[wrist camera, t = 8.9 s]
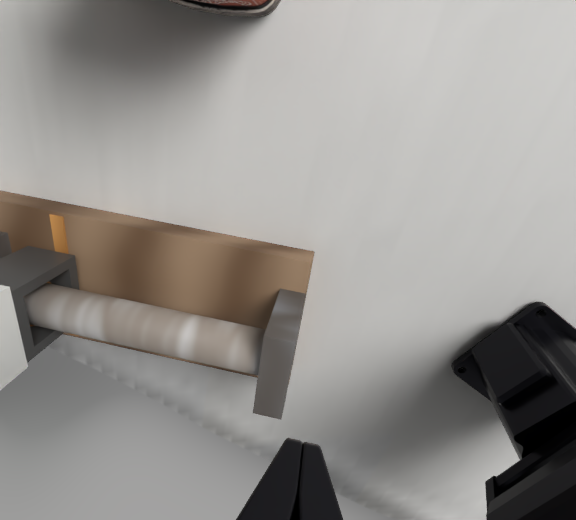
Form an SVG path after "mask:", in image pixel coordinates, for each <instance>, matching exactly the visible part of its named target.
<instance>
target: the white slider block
mask: <svg viewBox="0 0 576 520" xmlns="http://www.w3.org/2000/svg"><path fill="white" fill-rule="evenodd" d="M47 282H50V283H52V284H55V285H59V286H64V287H69V288H74V289H78V290H80V289H79V282H78V274H77V266H76V259H75V255H70V254H66V253H61V252H56V251H51V250H46V249H41V248H36V247H32V246H27V247H24V248H22V249H20V250H18V251H16V252H13V253H11V254H9V255H7V256H5V257H3V258H0V390H1V389H3V388H4V387H5V386H6V385H7V384H9V383H10V382H11V381H12V380H13V379H14V378H16V377H17V376H18V375H19V374H21V373H22V372H23V371H24V370H25V369H26V368H28V365H27V363H28V362H29V361H30V360H31V359H32V358H34V357H35V356H36V355H37V354H38V353H40V352H41V351H42V350H43V349H45V348H46V347H47V346H48V345H49V344H51V343H52V342H53V341H54V340H56V339H57V338H58V337H59V336H60V335H62V334H63V333H64V332H61V331H57V330H52V329H48V328H43V327H39V326H30V324H29V319H28V315H27V310H26V305H25V301H24V296H25V295H27V294H29V293H30V292H32V291H34V290H35V289H37V288H38V287H40V286H42V285H43V284H45V283H47Z"/></svg>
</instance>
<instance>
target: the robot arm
mask: <svg viewBox="0 0 576 520" xmlns="http://www.w3.org/2000/svg"><path fill="white" fill-rule="evenodd" d="M539 310H542V311H541V312H540V313H536V312H537V311H539ZM460 367H464V368H462V369H458V368H460ZM452 369H453V372H454V373H455V374H456V375H457V376H458V377H459V378H461V379H462V380H464V381H465V382H466V383H468V384H469V385H470V386H472V387H473V388H474V389H476V390H477V391H478V392H480V393H481V394H482V395H484V396H485V397H486V398H488V399H489V400H490V401H492V403H493V405H494V407H495V409H496V411H497V413H498V416H499V418H500V420H501V422H502V424H503V426H504V428H505V430H506V432H507V434H508V436H509V438H510V440H511V443H512V445H513V447H514V449H515V451H516V453H517V455H518V457H519V459H520V461H518V462H517V463H515V464H514V465H513V466H511V467H510V468H508V469H507V470H506V471H504V472H503V473H501V474H500V475H498V476H497V477H496V476H493V477H491V478H490V479H489V480H487V481H486V483H485V484H486V500H487V515H486V517H487V520H576V328H574V327H573V326H572V325H571V324H570V323H568V322H567V321H566V320H565V319H563V318H562V317H561V316H560V315H559V314H557V313H556V312H555V311H554V310H552V309H551V308H550V307H549V306H548V305H546V304H545V303H543V302H536V303H533V304H531V305H530V306H529V307H527V308H526V309H525V310H523V311H522V312H520V313H519V314H518V315H516V316H515V317H514V318H512V319H511V320H510V321H508V322H507V323H506V324H504V325H503V326H501V327H500V328H499V329H497V330H496V331H495V332H493V333H492V334H491V335H489V336H488V337H487V338H485V339H484V340H483V341H481V342H480V343H478V344H477V345H476V346H474V347H473V348H472V349H470V350H469V351H468V352H466V353H465V354H464V355H462V356H461V357H459V358H458V359H457V360H455V361H454V362H453V363H452ZM236 520H343V518H342V514H341V511H340V508H339V505H338V501H337V498H336V495H335V492H334V489H333V485H332V482H331V479H330V476H329V473H328V469H327V466H326V463H325V460H324V457H323V453H322V450H321V448H320V446H319V445H317V444H313V443H308V442H304V443H302V442H301V441H300V440H295V439H291V438H287V439H286V440H285V441H284V443H283V445H282V446H281V448H280V449H279V451H278V453H277V454H276V456H275V457H274V459H273V461H272V462H271V464H270V466H269V467H268V469H267V470H266V472H265V474H264V475H263V477H262V479H261V480H260V482H259V484H258V485H257V487H256V488H255V490H254V491H253V493H252V495H251V496H250V498H249V500H248V501H247V503H246V504H245V506H244V508H243V509H242V511H241V513H240V514H239V516H238V518H237V519H236Z"/></svg>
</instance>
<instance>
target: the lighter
mask: <svg viewBox="0 0 576 520" xmlns="http://www.w3.org/2000/svg"><path fill="white" fill-rule="evenodd" d="M169 1H172V2H174V3H177V4H180V5H183V6H185V7H188V8H191V9H194V10H199V11H205V12H210V13H216V14H221V15H227V16H255V17H260V16H265V15H268V14H269V13H271V12H272V11H273V10H275V9H276V7H277V6H278V4H279V3H280V1H281V0H169Z"/></svg>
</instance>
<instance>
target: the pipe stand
mask: <svg viewBox="0 0 576 520" xmlns="http://www.w3.org/2000/svg"><path fill="white" fill-rule="evenodd" d="M27 246H32V247H36V248H41V249H46V250H51V251H56V252H61V253H66V254H70V255H75V259H76V266H77V274H78V282H79V289H80V290H78V289H74V288H69V287H64V286H59V285H55V284H52V283H50V282H47V283H45V284H43V285H42V286H40V287H38V288H37V289H35V290H34V291H32V292H30V293H29V294H27V295H25V296H24V301H25V305H26V310H27V315H28V319H29V324H30V326H39V327H43V328H48V329H52V330H57V331H61V332H64V333H63V334H66V335H70V336H74V337H79V338H83V339H88V340H92V341H97V342H101V343H106V344H110V345H115V346H119V347H123V348H128V349H132V350H137V351H141V352H146V353H150V354H155V355H159V356H164V357H168V358H172V359H177V360H181V361H186V362H190V363H195V364H199V365H204V366H208V367H213V368H217V369H222V370H226V371H230V372H235V373H239V374H244V375H248V376H253V377H257V378H258V380H257V387H256V394H255V402H254V409H253V413H255V414H260V415H264V416H268V417H273V418H277V419H281V418H282V413H283V408H284V403H285V398H286V393H287V388H288V385H289V380H290V375H291V370H292V365H293V360H294V354H295V349H296V344H297V339H298V334H299V329H300V324H301V319H302V313H303V308H304V303H305V298H306V293H307V288H308V283H309V277H310V272H311V267H312V262H313V257H314V252H313V251H308V250H303V249H298V248H292V247H287V246H282V245H277V244H272V243H267V242H261V241H256V240H251V239H246V238H241V237H236V236H231V235H225V234H220V233H215V232H210V231H205V230H200V229H195V228H189V227H184V226H179V225H174V224H169V223H164V222H159V221H153V220H148V219H143V218H138V217H133V216H128V215H123V214H117V213H112V212H107V211H102V210H97V209H92V208H87V207H81V206H76V205H71V204H66V203H61V202H56V201H51V200H45V199H40V198H35V197H30V196H25V195H20V194H14V193H9V192H4V191H0V258H3V257H5V256H7V255H9V254H11V253H13V252H16V251H18V250H20V249H22V248H24V247H27Z"/></svg>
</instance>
